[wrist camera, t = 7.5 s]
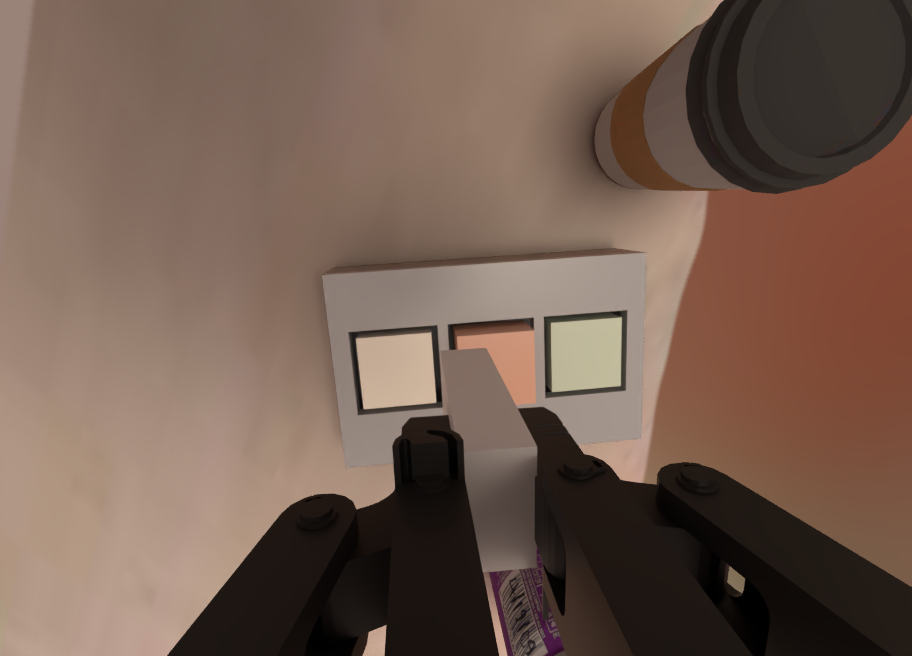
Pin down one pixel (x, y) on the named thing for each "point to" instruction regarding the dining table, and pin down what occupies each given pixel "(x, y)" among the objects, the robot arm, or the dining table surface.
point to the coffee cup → (764, 98)
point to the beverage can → (525, 613)
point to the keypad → (482, 301)
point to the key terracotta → (505, 353)
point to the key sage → (582, 351)
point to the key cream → (396, 367)
